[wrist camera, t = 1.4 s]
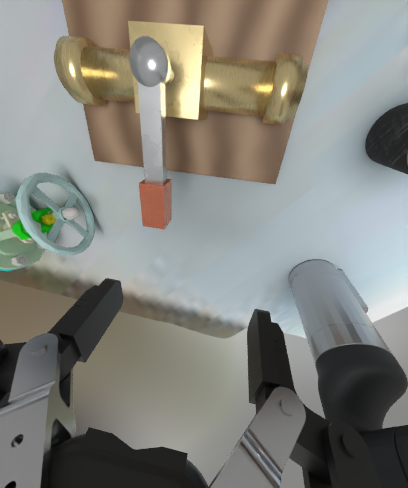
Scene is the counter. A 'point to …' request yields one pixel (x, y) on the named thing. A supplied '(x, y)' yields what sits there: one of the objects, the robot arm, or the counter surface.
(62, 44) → the brass valve
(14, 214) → the valve
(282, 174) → the counter surface
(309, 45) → the mounting board
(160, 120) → the valve lever
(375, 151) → the travel mug
